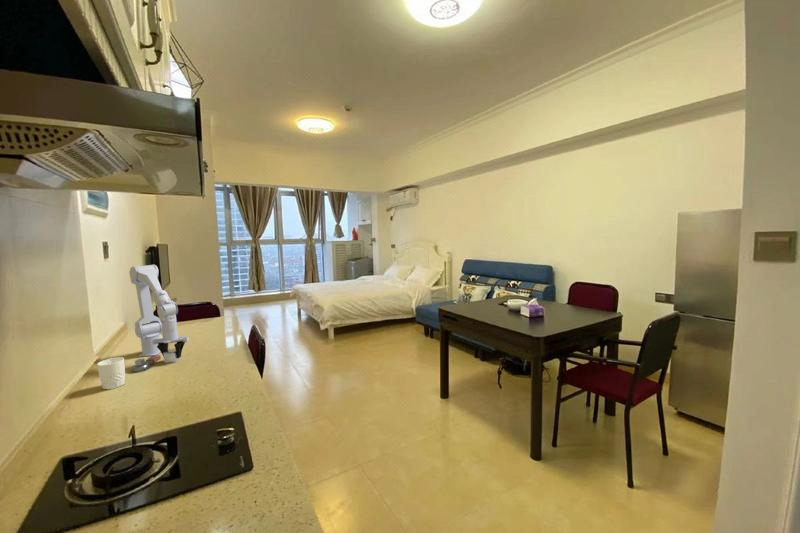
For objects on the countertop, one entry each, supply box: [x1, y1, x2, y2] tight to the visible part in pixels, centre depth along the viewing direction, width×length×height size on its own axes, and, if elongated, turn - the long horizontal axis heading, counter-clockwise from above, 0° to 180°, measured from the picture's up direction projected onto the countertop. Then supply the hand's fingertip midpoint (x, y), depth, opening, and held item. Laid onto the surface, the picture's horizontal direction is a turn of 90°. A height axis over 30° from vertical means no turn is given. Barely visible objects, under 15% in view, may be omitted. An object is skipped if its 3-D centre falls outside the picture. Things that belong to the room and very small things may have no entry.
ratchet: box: [131, 354, 161, 374], centre depth 147 cm, size 15×6×4 cm, turn 9°
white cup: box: [97, 357, 126, 390], centre depth 127 cm, size 8×8×10 cm
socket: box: [163, 348, 182, 364], centre depth 151 cm, size 5×5×5 cm
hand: (172, 357), depth 151 cm, fingers closed on socket, 5 cm apart
